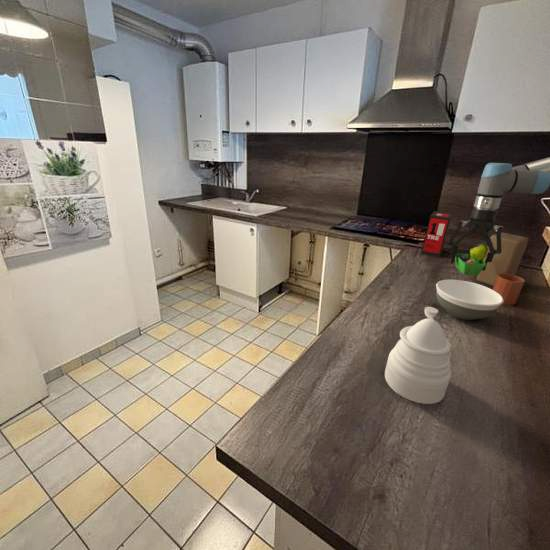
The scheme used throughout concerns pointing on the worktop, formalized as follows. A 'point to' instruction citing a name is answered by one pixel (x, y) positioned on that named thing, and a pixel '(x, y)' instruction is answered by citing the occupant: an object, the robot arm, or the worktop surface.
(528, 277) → the worktop surface
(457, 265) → the fruit basket
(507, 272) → the wooden block
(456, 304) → the bowl
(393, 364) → the honey pot
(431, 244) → the cleaning product box
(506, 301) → the terracotta plant pot
